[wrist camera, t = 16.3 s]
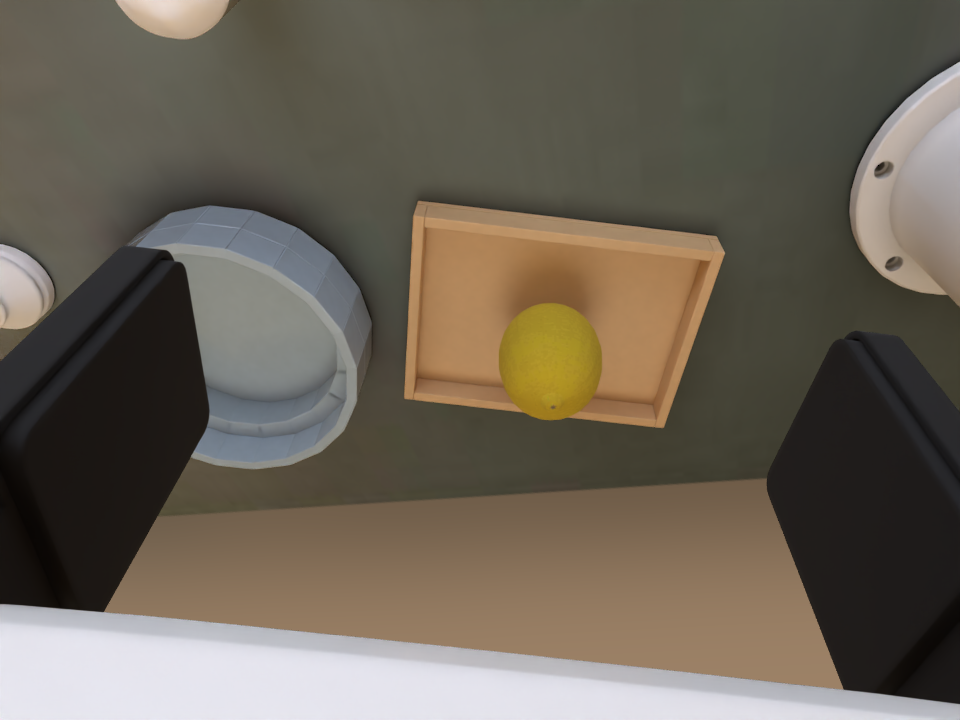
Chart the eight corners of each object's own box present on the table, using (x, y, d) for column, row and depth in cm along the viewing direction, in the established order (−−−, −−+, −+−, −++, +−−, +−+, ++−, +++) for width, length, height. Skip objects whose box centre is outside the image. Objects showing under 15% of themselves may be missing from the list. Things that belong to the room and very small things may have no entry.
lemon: (527, 370, 42) (528, 462, 36) (483, 301, 39) (475, 387, 33) (610, 336, 40) (627, 426, 34) (571, 262, 38) (581, 344, 31)
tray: (716, 235, 37) (725, 252, 35) (658, 407, 44) (663, 428, 42) (417, 200, 37) (413, 215, 35) (408, 379, 44) (403, 399, 42)
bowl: (374, 220, 37) (356, 264, 33) (371, 427, 46) (357, 481, 42) (95, 187, 37) (43, 227, 33) (146, 402, 46) (110, 454, 42)
